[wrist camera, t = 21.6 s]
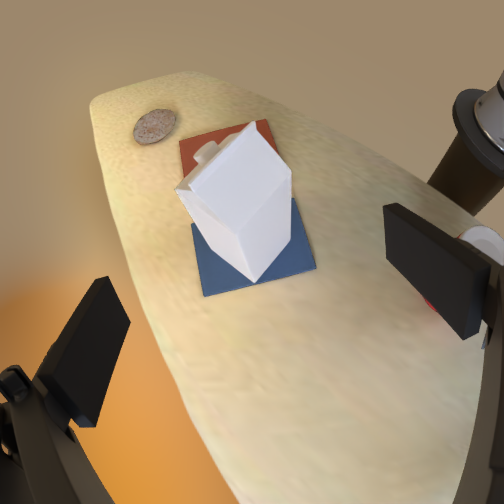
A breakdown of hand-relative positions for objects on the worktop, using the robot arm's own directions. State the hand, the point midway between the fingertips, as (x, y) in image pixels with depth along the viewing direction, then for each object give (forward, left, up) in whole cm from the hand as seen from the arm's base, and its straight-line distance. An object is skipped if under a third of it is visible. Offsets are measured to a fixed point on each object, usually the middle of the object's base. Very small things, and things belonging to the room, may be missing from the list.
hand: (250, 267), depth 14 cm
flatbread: (+11, -36, -24) cm, 44 cm away
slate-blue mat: (0, -11, -24) cm, 26 cm away
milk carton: (0, -11, -24) cm, 26 cm away
